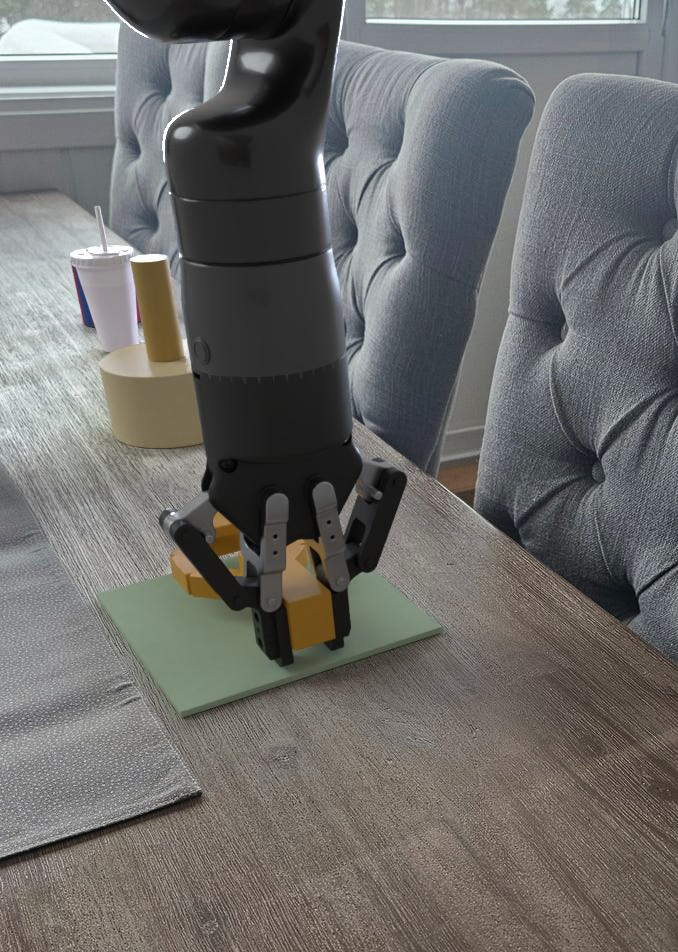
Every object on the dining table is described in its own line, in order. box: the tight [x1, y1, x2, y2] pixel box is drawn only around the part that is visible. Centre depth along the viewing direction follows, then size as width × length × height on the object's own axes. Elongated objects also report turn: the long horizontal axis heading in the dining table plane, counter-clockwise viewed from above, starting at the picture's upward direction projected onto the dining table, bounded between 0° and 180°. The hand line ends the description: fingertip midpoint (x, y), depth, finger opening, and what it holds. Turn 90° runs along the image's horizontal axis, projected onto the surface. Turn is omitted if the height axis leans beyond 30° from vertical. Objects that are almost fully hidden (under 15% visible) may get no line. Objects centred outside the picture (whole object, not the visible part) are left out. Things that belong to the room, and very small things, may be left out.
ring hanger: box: [169, 512, 335, 651], centre depth 67 cm, size 16×8×3 cm, turn 32°
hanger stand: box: [98, 253, 204, 449], centre depth 94 cm, size 11×11×14 cm
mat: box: [95, 539, 443, 719], centre depth 69 cm, size 16×16×1 cm
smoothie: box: [69, 205, 140, 353], centre depth 115 cm, size 6×6×14 cm
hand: (305, 650), depth 64 cm, fingers closed on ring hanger, 2 cm apart
